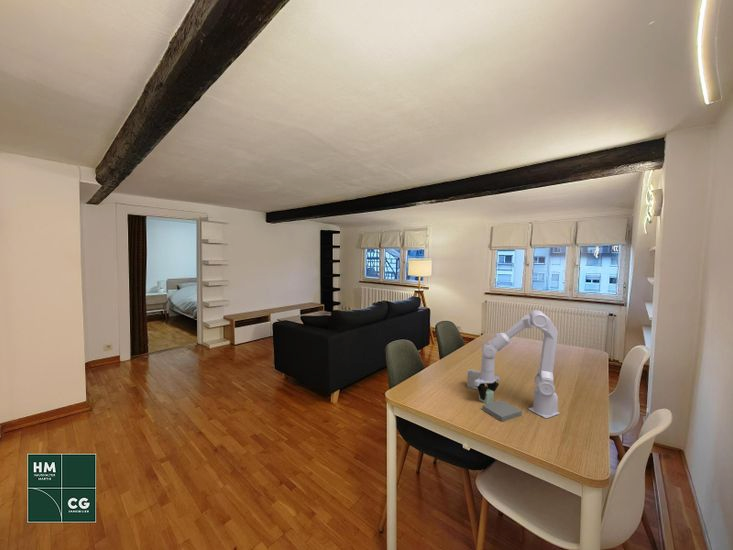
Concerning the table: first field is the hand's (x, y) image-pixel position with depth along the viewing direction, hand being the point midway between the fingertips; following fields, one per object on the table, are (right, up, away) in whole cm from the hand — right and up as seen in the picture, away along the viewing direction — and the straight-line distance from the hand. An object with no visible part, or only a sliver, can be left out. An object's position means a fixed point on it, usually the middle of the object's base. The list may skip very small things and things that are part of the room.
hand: (486, 398), depth 132 cm
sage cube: (0, -1, 0) cm, 1 cm away
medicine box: (0, -1, +14) cm, 14 cm away
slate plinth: (+2, -2, -10) cm, 10 cm away
